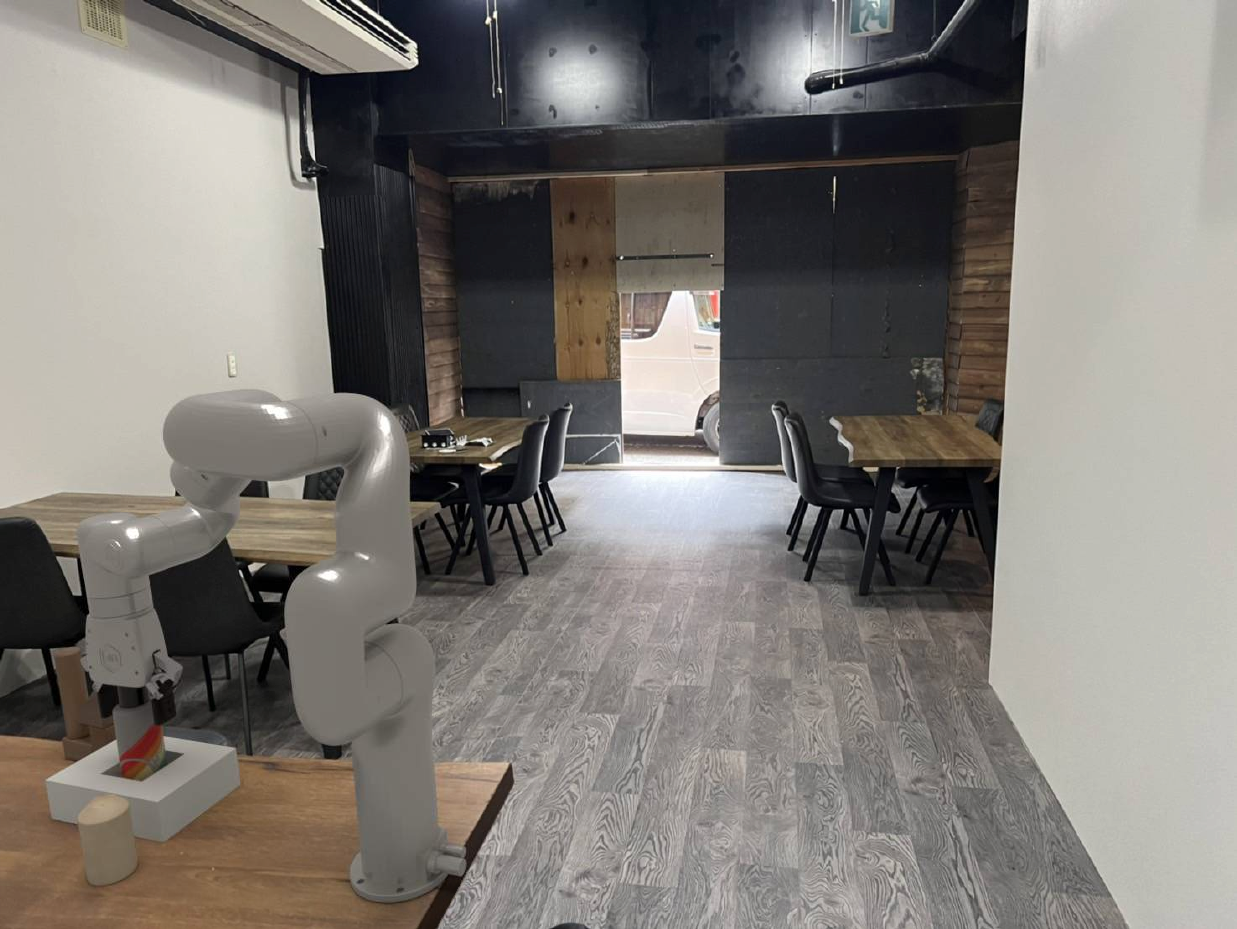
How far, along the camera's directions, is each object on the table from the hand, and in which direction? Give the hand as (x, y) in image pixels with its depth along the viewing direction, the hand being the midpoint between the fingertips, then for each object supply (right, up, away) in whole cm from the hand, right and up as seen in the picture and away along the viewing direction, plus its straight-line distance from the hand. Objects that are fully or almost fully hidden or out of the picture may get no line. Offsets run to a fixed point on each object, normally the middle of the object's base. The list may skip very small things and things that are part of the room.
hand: (139, 717), depth 115 cm
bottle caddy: (0, -13, +3) cm, 13 cm away
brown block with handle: (-15, -11, +15) cm, 24 cm away
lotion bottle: (0, -13, +3) cm, 13 cm away
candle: (+4, -16, -12) cm, 21 cm away
